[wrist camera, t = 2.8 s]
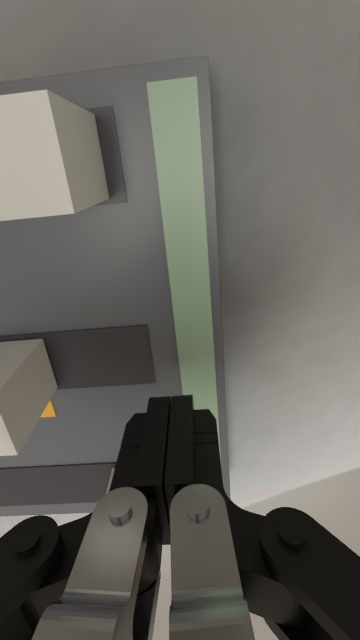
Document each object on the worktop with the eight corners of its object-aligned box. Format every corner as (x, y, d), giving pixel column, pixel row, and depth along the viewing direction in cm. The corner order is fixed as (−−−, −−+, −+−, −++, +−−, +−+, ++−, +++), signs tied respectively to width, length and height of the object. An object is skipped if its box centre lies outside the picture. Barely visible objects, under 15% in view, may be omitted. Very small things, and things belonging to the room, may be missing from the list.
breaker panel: (-232, 129, 14) (-319, 122, 11) (204, 75, 12) (208, 54, 10) (-40, 483, 23) (-67, 520, 20) (226, 470, 21) (231, 508, 19)
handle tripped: (-11, 342, 15) (-77, 401, 11) (42, 338, 14) (-7, 397, 11) (8, 390, 16) (-46, 458, 12) (57, 387, 16) (17, 455, 12)
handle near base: (23, 123, 11) (-59, 102, 7) (94, 114, 11) (46, 89, 7) (44, 205, 12) (-18, 223, 8) (109, 198, 12) (74, 213, 8)
